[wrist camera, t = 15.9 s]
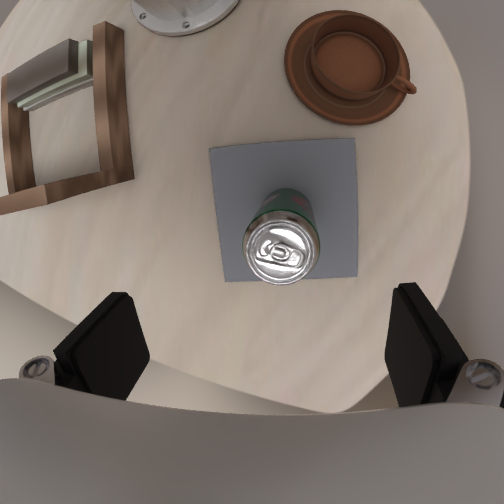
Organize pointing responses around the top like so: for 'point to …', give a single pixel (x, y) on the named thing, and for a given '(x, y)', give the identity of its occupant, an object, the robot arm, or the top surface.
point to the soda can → (282, 238)
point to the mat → (295, 177)
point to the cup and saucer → (347, 67)
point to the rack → (52, 88)
